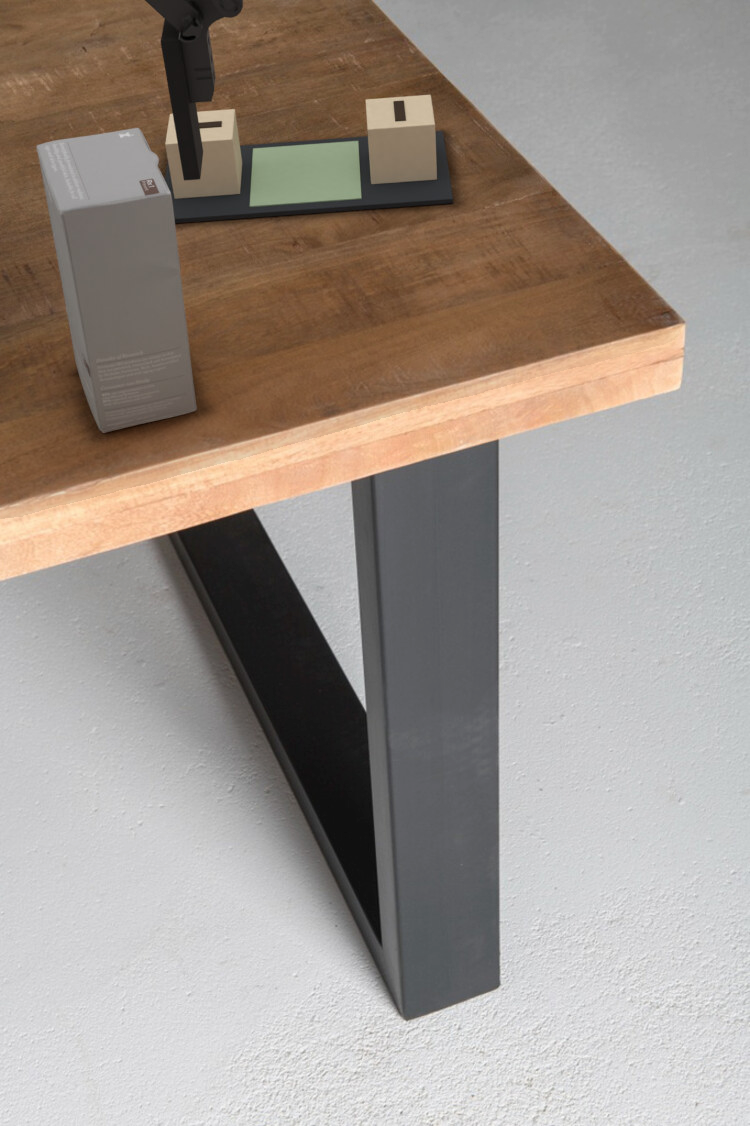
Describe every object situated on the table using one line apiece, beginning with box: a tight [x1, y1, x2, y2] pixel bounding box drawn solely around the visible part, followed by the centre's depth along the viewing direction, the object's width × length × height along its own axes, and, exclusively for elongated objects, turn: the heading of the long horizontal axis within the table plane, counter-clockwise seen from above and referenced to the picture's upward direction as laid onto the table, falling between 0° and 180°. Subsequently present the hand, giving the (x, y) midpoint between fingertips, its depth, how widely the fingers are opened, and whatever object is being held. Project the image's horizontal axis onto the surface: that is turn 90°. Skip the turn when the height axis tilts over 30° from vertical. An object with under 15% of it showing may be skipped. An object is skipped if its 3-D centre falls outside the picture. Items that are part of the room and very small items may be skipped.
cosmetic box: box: [36, 127, 198, 434], centre depth 85 cm, size 8×7×16 cm
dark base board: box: [164, 94, 454, 224], centre depth 108 cm, size 22×11×5 cm, turn 92°
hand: (48, 177), depth 66 cm, fingers open, 13 cm apart
